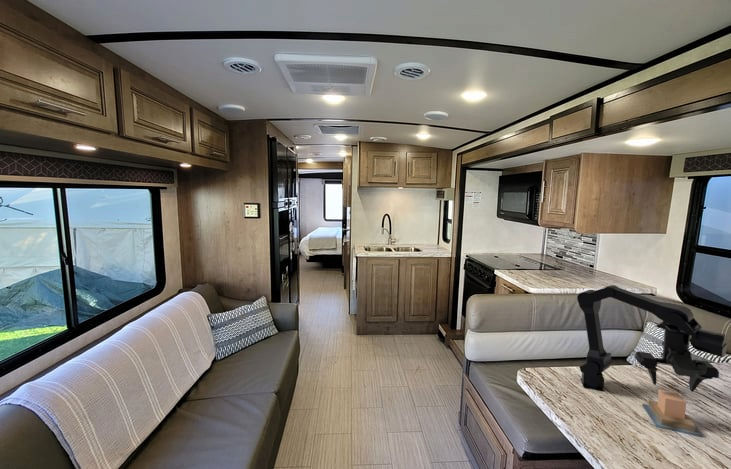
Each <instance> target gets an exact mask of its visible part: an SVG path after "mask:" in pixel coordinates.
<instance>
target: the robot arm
mask: <svg viewBox="0 0 731 469" xmlns="http://www.w3.org/2000/svg"><path fill="white" fill-rule="evenodd" d="M608 298H612V299H614V300H617V301H620V302H621V303H622V302H623V303H626V304H628V305H630V306H633V307H635V308H637V309H641V310H643V311H646V312H648V313H651V314H652V315H653V316H654V317H656V318H657V319H659V320H660V321H662V322H659V323H657V324H656V327H657V328H660V329H663V330H664V335H663V341H661V345H662V346H663V348H662V349H663V350H662V352H661V353H660V356H661V357H662V358H660V357H654V355H653V354H652V353H651V352H645V351H637V352H636V353H635V356H634V359H635V360H636V361H637V362H638V364H639V365H640V366H642V367H644V368H645V369H646V370H647V372H648V375H649V377H650V380H651V382H652V383H653V385H655V386H656V385H657V371H658V368H657V366H658V365H662V366H670V367H672V369H673V371H674V373H675V374H676V375H677V376H680V377H689V382H688V383H689V384H688V385H689V391H691V392H694V391H695V390H696V389H697V387H698V386H700V384H701V383H702V382H703V381H705V380H712V379H719V378H720V371H719V369H718V368H717V367H715V366H714V365H713V364H712V363H711V362H709V361H708V360H707V361H706V360H700V359H692V353H691V351H690V350H689V349H690V348H689V347H690V345H691V347H692V348H693V349H695V350H696V351H700V352H702V353H707V354H710V355H713V356H716V357H720V358H724V357H725V355H726V353H727V350H728V349H727V348H728V343H727V339H726V336H727V335H726V334H723V333H719V332H712V331H708V330H704V329H702V328H703V327H702V325H701V324H700V323H699V322H698V321H697V319H696V318H695V316H694V313H693V312H692V310H691V309H690V308H689V307H687V306H684V305H680V304H676V303H673V302H665V301H658V300H655V299H653V298H649V297H646V296H644V295H641V294H638V293H635V292H633V291H630V290H627V289H624V288H621V287H619V286H617V285H615V284H612V285H611V284H610V285H608V286H606V287H603V288H602V287H601V288H600V289H596V290H595V289H588V290H585V291H582V292H580V293H579V294H577V296H576V299H577V303H578V307H579V309H580V310H581V311H582V312H583V314H584V321H585V328H586V335H587V342H588V351H587V354H586V362H584V363H583V364H581V365H579V370H580V372H581V378H580V381H581V385H582V386H583V388H584V389H588V390H589V389H590V390H594V391H598V392H604V388H605V377H604V375H603V372H605V371H606V370H608V369H610V368H611V365H612V364H613V363H614V362H613V360H612V353H611V352H607V351H606V350H605V347H604V343H603V342H604V341H603V336H602V334H603V333H602V330H601V329H602V327H601V322H600V321H601V320H600V315H599V314H600V313H599V312H600V309H601V304H602V300H605V299H608ZM690 336H691V338H690Z"/></svg>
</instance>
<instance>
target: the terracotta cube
mask: <svg viewBox="0 0 731 469" xmlns="http://www.w3.org/2000/svg"><path fill="white" fill-rule="evenodd" d="M657 394H658V396H657V402H658V407H659V408H660V410H661V411H662V412H663V414H664V415H667V416H672V417H677V418H681V419H685V414H686V407H687V402H686V400H685V399H684V398H683V397H682V396H681V395H680V394H679V392H673V391H668V390H663V389H658V391H657Z"/></svg>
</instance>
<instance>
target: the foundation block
mask: <svg viewBox="0 0 731 469" xmlns="http://www.w3.org/2000/svg"><path fill="white" fill-rule="evenodd" d="M641 404H642V405H641V406H642V407H643V409H644V411H645V412H646V413H647V415H648V417H649V418H650V420H651V421H652V423H653V424H654V426H655V427H656V428H660V429H665V430H669V431H674V432H677V433H682V434H687V435H690V436H691V435H692V436H695V437H699V438H703V434H702V432H701V431H700V430H699V429H698V427H697V426H696V425H695V423H694V422H693V421H692V420H691V418H689V416H688V415H687V414H686V413H685V419H681V418H677V417H672V416H667V415H664V414H663V412H662V411H661V410H660V408H659V407H658V400H657V401H655V400H651V399H649V400H648V403H641Z"/></svg>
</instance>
